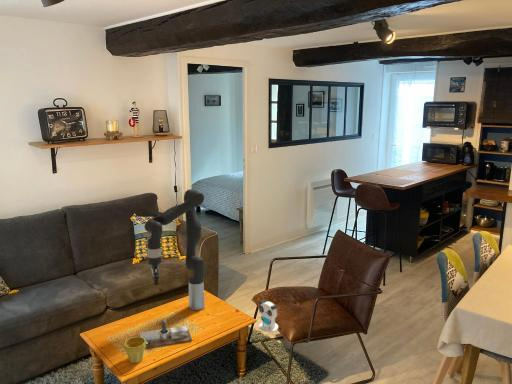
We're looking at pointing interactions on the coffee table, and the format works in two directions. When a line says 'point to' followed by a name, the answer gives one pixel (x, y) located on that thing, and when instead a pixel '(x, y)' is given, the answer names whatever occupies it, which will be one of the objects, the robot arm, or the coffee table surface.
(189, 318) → the coffee table surface
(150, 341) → the hinge leaf
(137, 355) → the plant pot
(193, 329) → the coffee table surface
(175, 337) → the hinge base
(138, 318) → the coffee table surface
